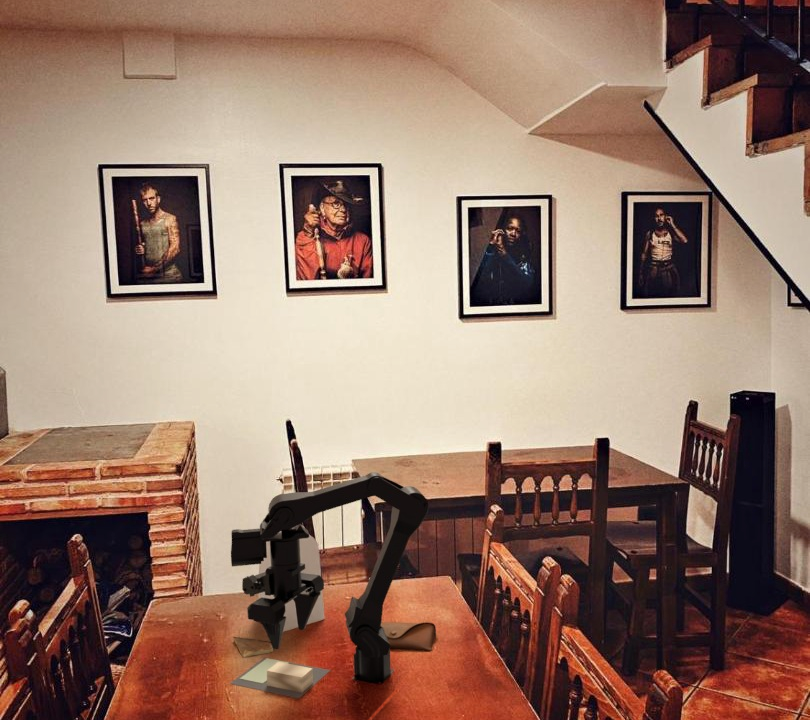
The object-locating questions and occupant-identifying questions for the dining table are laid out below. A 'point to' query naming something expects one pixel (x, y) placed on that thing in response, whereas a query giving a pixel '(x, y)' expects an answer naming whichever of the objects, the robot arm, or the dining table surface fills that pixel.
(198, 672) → the dining table surface
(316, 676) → the mat
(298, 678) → the birch block
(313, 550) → the milk
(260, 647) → the shard
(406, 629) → the sunglasses case
